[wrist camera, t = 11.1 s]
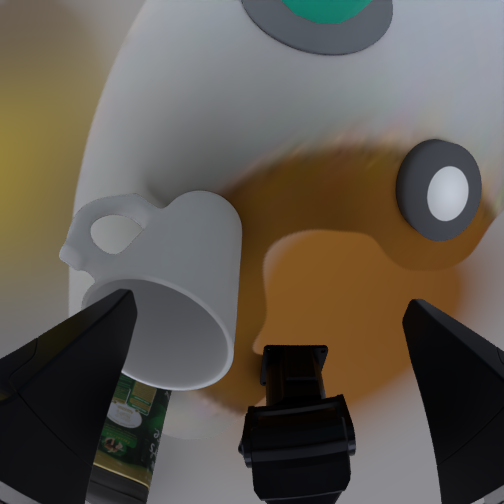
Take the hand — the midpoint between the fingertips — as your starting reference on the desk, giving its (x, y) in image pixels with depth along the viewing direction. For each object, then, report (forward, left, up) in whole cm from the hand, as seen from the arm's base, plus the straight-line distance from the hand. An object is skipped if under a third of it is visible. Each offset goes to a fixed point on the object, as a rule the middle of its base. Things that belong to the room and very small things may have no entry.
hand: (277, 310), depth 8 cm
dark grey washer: (+2, -14, -13) cm, 19 cm away
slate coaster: (+16, -3, -13) cm, 21 cm away
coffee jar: (-21, +13, -13) cm, 28 cm away
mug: (-2, +6, -13) cm, 15 cm away
